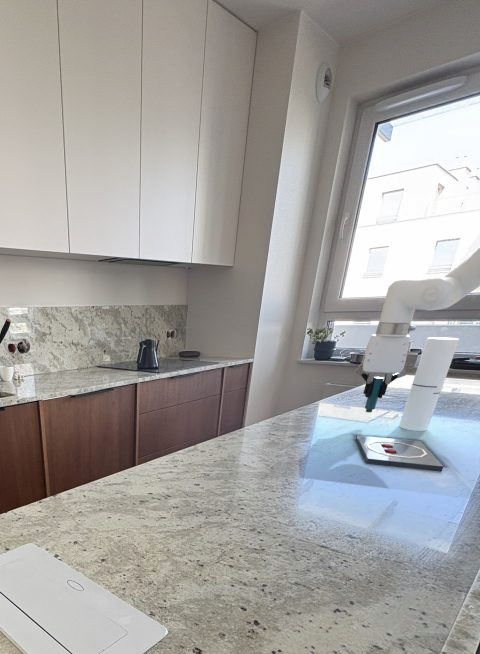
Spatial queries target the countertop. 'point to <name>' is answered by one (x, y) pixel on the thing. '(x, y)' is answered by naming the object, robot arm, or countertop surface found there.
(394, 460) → the slate board
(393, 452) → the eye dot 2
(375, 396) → the marker
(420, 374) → the cylindrical container
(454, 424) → the countertop surface
